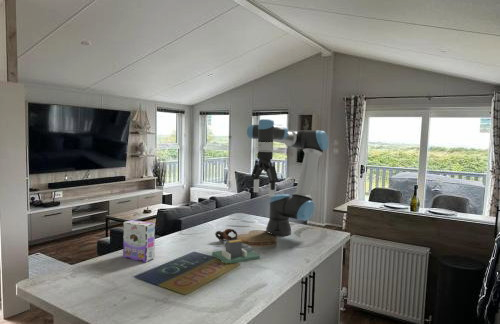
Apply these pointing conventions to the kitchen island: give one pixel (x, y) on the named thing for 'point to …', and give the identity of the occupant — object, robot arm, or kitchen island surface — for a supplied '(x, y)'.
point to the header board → (245, 255)
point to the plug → (234, 247)
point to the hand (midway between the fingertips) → (263, 194)
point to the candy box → (138, 240)
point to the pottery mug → (226, 235)
